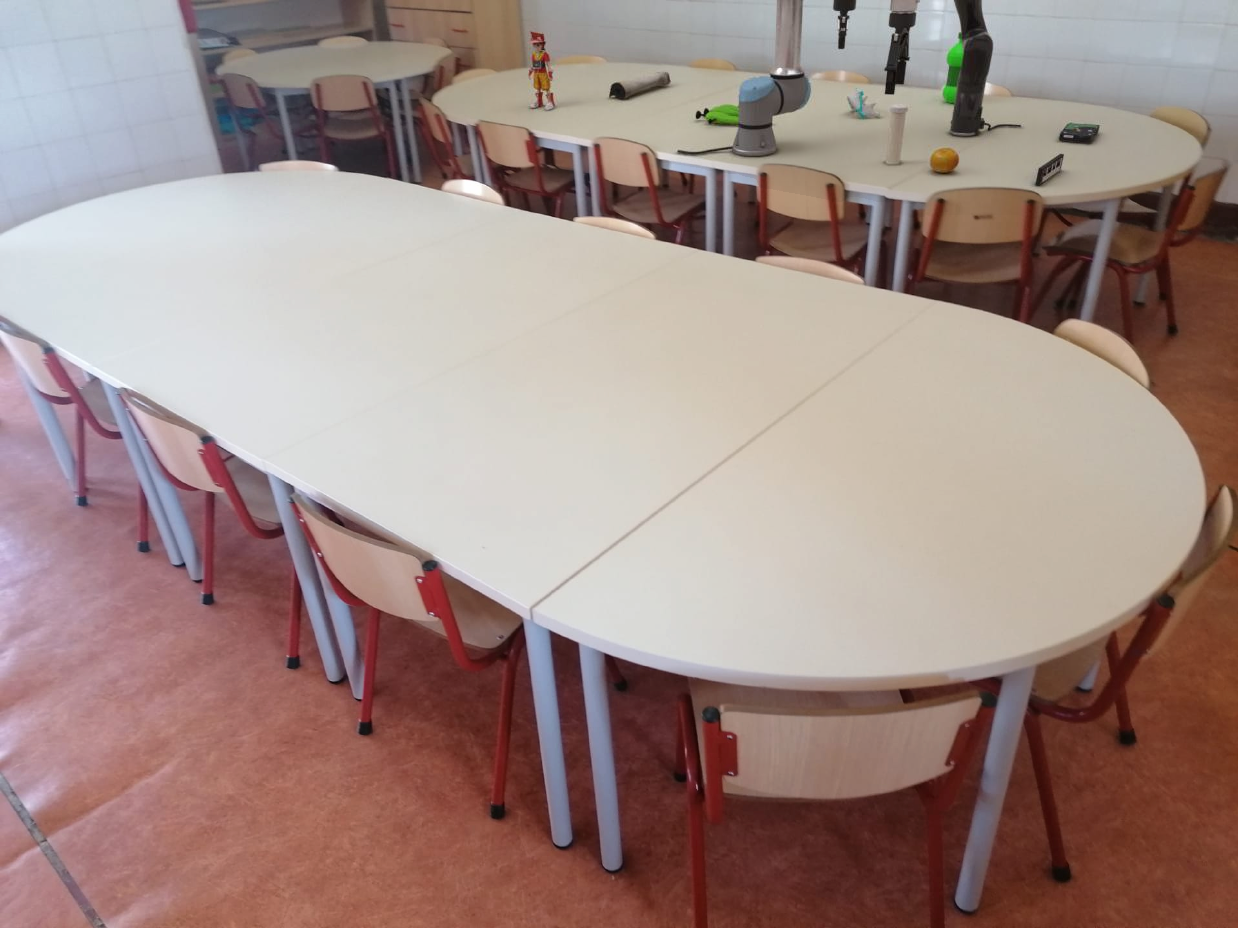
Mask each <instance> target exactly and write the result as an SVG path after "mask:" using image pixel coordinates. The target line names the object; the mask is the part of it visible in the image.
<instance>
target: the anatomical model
mask: <svg viewBox="0 0 1238 928" xmlns="http://www.w3.org/2000/svg"><path fill="white" fill-rule="evenodd" d="M864 95H865V93H864V91H863V90H861V89H860V88H859V87H857V88H855V90H854V92H853V93H848V94H847V95H846V99H847V102H848V104H849V106H850V109H852V110H854V111H856V112H857V113H858V116H859V117H860V118H862V119H867V118H869V117H879V116H880V115H881V113H880V112H879V111H878V112H877V111H874V107H875V106H877V102H876V101H875V102H872V103H870V104H866V103H865V102H866V100H867V99H868V95H866V96H864ZM863 96H864V97H863Z"/></svg>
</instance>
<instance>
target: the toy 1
mask: <svg viewBox="0 0 1238 928" xmlns="http://www.w3.org/2000/svg"><path fill="white" fill-rule="evenodd" d="M529 33H530V35H531V36H528V37H527V38H528V39H529V40H528V41H527V43H529V44H530V43H531V44H532V48H533V50H534V51H533V52H532V55H531V58H530V59H531V63H530V66H528V74H527V75H528V76H527V77H528V79H529V80H531V75H532V74H533V84H532V85H533V86H532V87H533V88H534V89H535V90H536V92H534V95H535V97H536V100H535V101H533V102H531V105H530V108H531V109H535V108H538V107H542V106H544V101H543V100H544V99H543V95H544V92H546V94H545V97H546V99H547V103H546V104H545V106H544V110H546V111H549V110H553V109H554V107H555V106H556V105H555V99H554V92H551V91H550V90H551V86H552V84H551V82H552V81H553V80H554V77H553V73H554V71H555V70H554V69H552V68H551V63H550V61H551V59H550V58H551V57H550V54H549V53H548V52H547V50H546V48H545V46H546V44H547V41H545V35H544V33H543V32H542V33H539V32H535V31H529Z"/></svg>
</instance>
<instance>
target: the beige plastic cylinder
mask: <svg viewBox="0 0 1238 928" xmlns="http://www.w3.org/2000/svg"><path fill="white" fill-rule="evenodd" d="M906 113H907V112H905V113H893V112H891V111H890V120H889V121H890V122H889V128H888V129H889V131H888V138H887V145H886V146H887V147H886V155H885V164H886V165H891V166H892V165H893V166H895V165H899V164H900V162H901V154H902V146H903V139H904V130H905V124H906Z"/></svg>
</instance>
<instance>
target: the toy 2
mask: <svg viewBox="0 0 1238 928" xmlns="http://www.w3.org/2000/svg"><path fill="white" fill-rule="evenodd" d="M701 117H704V118H705V120H706V121H707V123H708V124H709V125H712V124H729V125H730V124H731V125H733V124H734V125H738V119H739V104H738V105H737V106H736V105H733V104H729V103H727V104H721V105H719V106H715V107H712V108H711V109H709V108H707V107H705V108H704V109H703V113H702V112H701V111H700V110H696V112H695V119H696V120H700V119H701Z"/></svg>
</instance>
